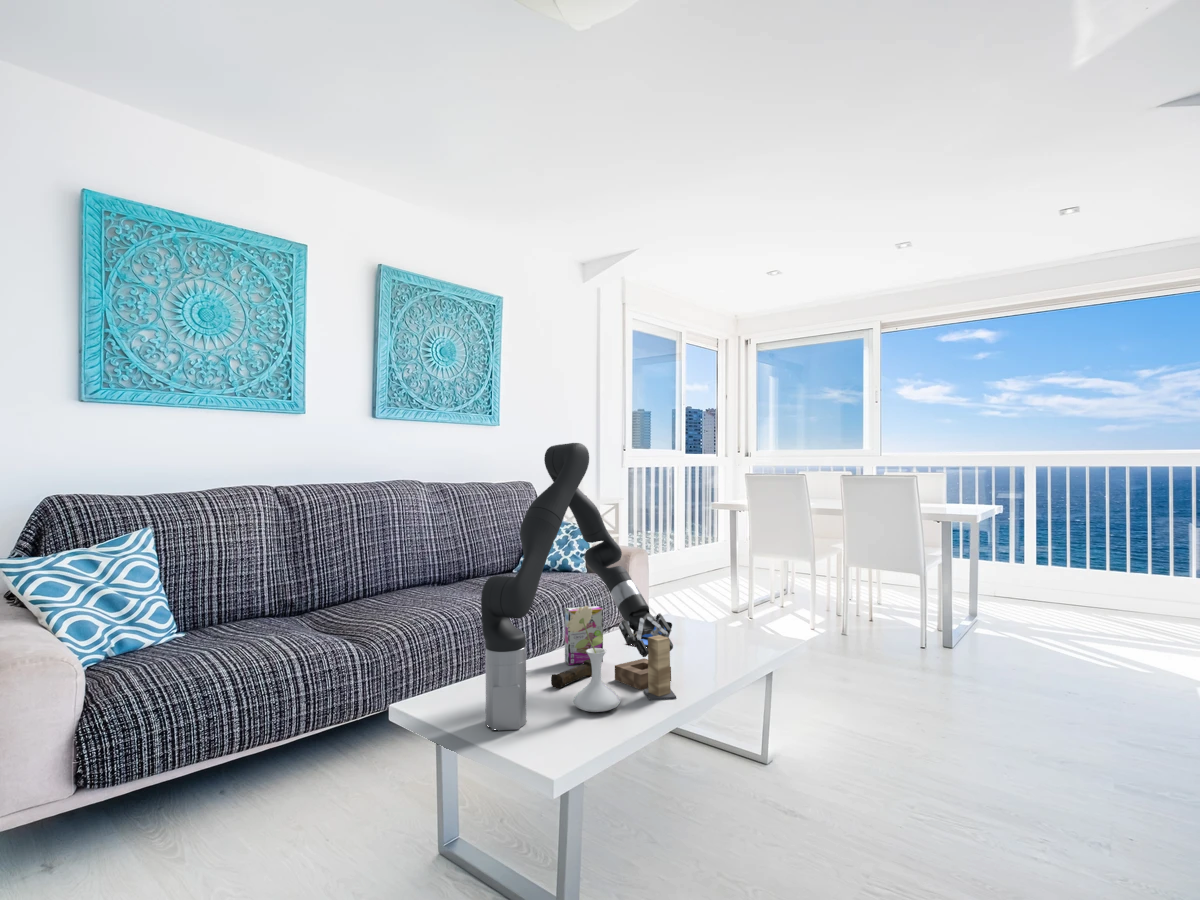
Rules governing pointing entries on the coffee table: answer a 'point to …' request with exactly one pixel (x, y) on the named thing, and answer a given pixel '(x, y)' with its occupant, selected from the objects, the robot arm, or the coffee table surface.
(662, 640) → the oak peg
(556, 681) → the brown wooden log
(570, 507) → the robot arm
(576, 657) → the candy bar box
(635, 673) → the socket block
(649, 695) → the rubber pad
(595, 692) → the flower in vase
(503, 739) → the coffee table surface
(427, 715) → the coffee table surface
